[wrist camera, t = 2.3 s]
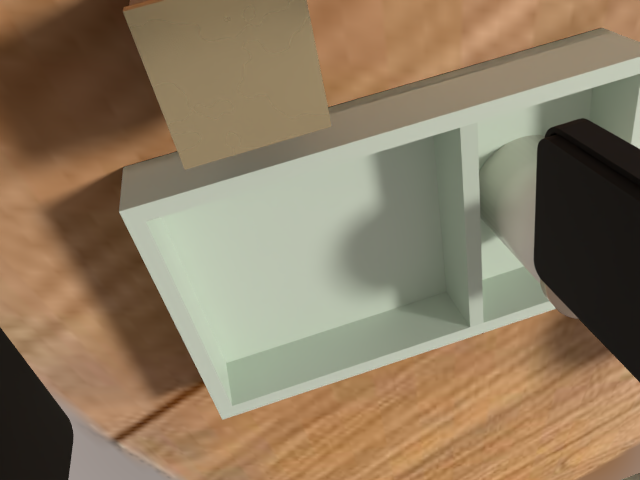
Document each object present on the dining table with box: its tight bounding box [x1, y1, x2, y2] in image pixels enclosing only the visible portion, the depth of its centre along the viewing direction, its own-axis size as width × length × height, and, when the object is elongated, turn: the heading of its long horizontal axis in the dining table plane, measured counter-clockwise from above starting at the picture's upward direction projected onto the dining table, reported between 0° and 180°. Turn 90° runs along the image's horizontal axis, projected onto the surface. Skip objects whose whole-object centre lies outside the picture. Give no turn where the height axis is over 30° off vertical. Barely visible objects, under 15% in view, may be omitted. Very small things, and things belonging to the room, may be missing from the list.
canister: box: [479, 135, 579, 319], centre depth 28 cm, size 6×6×8 cm
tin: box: [123, 0, 332, 170], centre depth 20 cm, size 5×5×7 cm
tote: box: [119, 28, 640, 420], centre depth 29 cm, size 24×14×4 cm, turn 102°
